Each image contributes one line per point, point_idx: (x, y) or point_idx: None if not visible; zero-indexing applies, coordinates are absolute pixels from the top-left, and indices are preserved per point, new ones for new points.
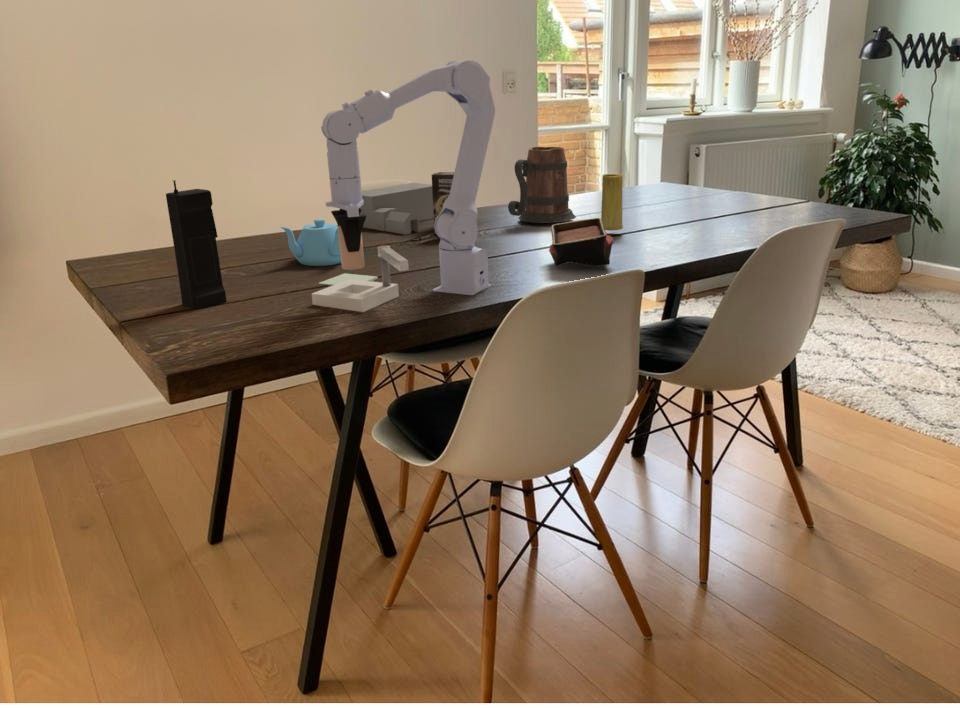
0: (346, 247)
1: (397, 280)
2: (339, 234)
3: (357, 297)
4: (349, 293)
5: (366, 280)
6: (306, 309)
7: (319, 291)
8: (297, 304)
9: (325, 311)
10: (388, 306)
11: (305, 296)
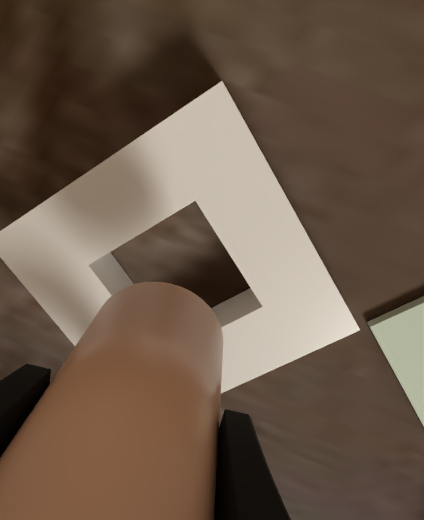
0: (31, 383)
1: (355, 471)
2: (59, 456)
3: (27, 238)
4: (112, 236)
5: (416, 398)
6: (191, 38)
7: (238, 133)
8: (306, 28)
9: (109, 104)
10: (52, 322)
11: (416, 115)
